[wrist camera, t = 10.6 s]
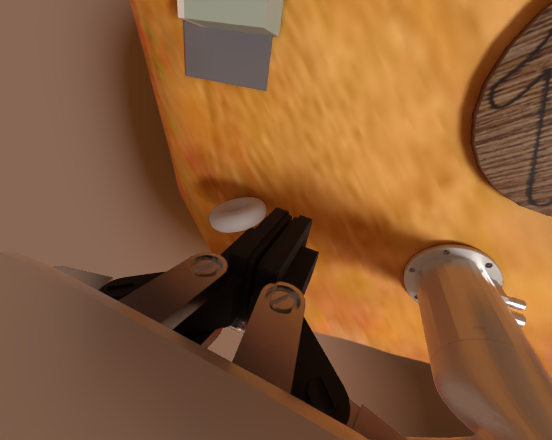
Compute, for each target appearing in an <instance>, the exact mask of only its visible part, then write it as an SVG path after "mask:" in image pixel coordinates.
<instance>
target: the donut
mask: <svg viewBox="0 0 552 440" xmlns="http://www.w3.org/2000/svg"><path fill="white" fill-rule="evenodd" d="M266 213H267V210H266V205H265V203H264V202H263V201H261V200H260V199H258V198H254V197H241V198H236V199H232V200H229V201H226V202H224V203H221V204H220V205H218V206H216V207H215V208H214V209H213V210H212V211H211V213H210V215H209V222H210V224H211V226H212V228H214V229H215V230H217V231H219V232H224V233H232V232H239V231H244V230H246V229H249V228H252V227H253V226H255V225H257V224H259V223H260V222H261V221H262V220H263V219H264V217H265V215H266Z"/></svg>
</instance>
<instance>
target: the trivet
mask: <svg viewBox="0 0 552 440" xmlns="http://www.w3.org/2000/svg"><path fill="white" fill-rule="evenodd" d="M471 145H472V149H473V152H474V156H475V160H476V163H477V166H478V168H479V169H480V171H481V172H482V173H483V175H484V176H485V177H486V179H487V180H488V181H489V183H490V184H491V186H492V187H494V188H495V189H496V190H498V191H499V192H501V193H502V194H503V195H505V196H506V197H508V198H509V199H511V200H512V201H513V202H515V203H516V204H518V205H519V206H522V207H525V208H528V209H531V210H533V211H536V212H539V213H542V214H545V215H547V216H552V3H550V4H549V5H548V6H546V7H545V8H544V9H542V10H541V11H540V12H539V13H538V14H537V15H536V16H535V17H534V18H533V19H532V20H531V21H530V22H529V23H528V25H527V26H526V27H525V28H524V29H523V30H522V31H521V32H520V33H519V34H518V35H517V36H516V37H515V38H514V40H513V41H512V42H511V43H510V44H509V45H508V46H507V47H506V48H505V50H504V51H503V53H502V54H501V56H500V58H499V59H498V61H497V62H496V64H495V66H494V67H493V69H492V70H491V72H490V73H489V75H488V77H487V78H486V80H485V81H484V83H483V86H482V89H481V91H480V94H479V97H478V100H477V103H476V106H475V108H474V111H473V114H472V129H471Z"/></svg>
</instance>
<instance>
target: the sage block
mask: <svg viewBox="0 0 552 440" xmlns="http://www.w3.org/2000/svg"><path fill="white" fill-rule="evenodd" d="M283 1H284V0H177V7H178V18H181V19H183V20H186V21H188V22H191V23H193V24H196V25H198V26H201V27H206V28H213V29H221V30H229V31H236V32H244V33H252V34H260V35H267V36H275V37H279V33H280V25H281V17H282V9H283Z"/></svg>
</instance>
